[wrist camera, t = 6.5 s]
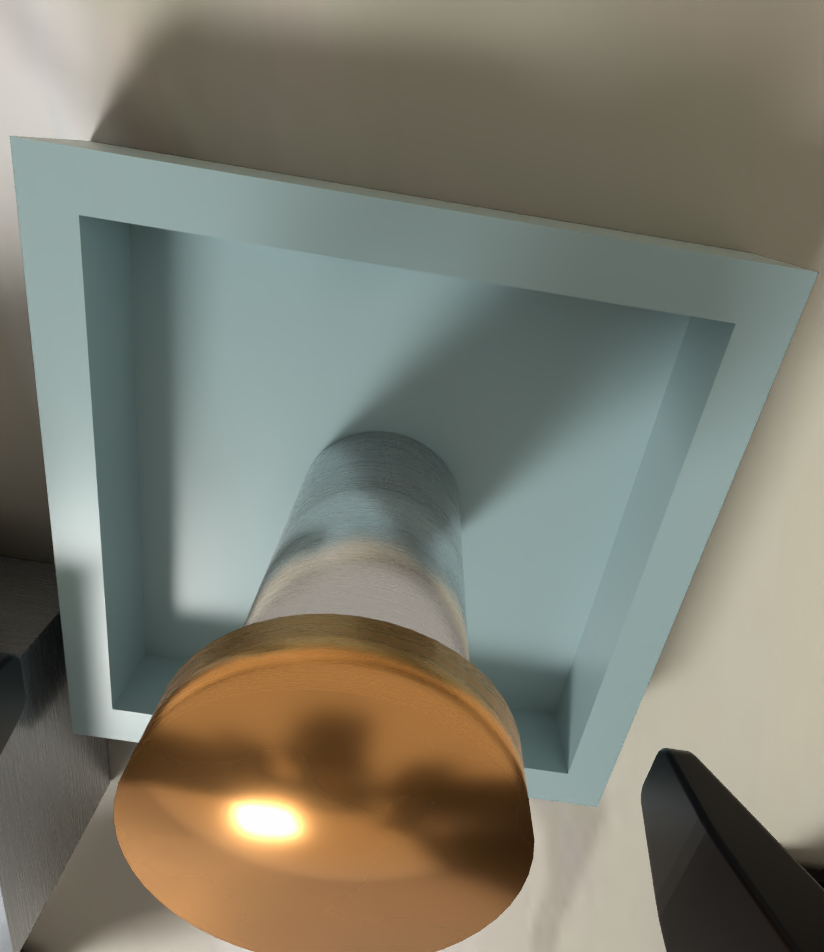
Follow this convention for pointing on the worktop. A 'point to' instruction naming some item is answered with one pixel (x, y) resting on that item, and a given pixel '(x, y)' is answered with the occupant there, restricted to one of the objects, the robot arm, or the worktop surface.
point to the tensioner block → (40, 755)
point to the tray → (381, 417)
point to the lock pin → (339, 736)
